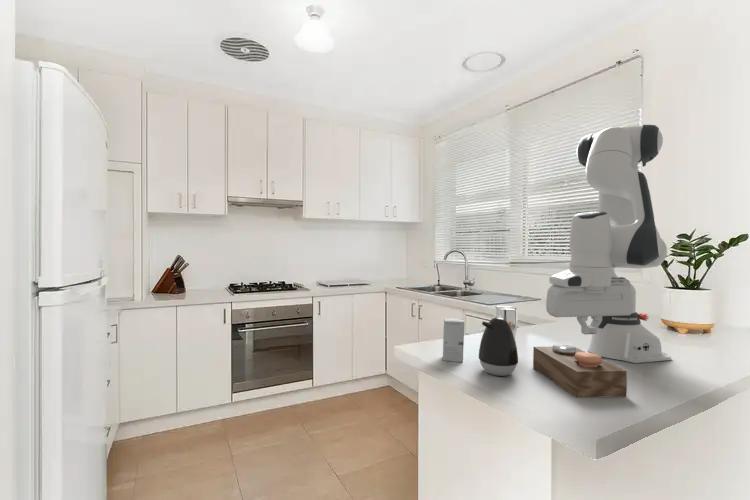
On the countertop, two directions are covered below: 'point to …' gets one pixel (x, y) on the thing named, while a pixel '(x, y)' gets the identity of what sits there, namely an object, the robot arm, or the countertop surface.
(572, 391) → the walnut block
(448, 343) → the skincare box
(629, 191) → the robot arm
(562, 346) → the steel plunger
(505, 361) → the pump dispenser
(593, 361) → the terracotta plunger
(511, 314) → the beer glass
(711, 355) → the countertop surface
